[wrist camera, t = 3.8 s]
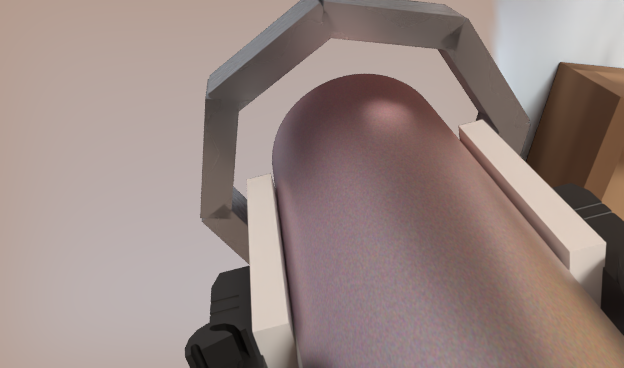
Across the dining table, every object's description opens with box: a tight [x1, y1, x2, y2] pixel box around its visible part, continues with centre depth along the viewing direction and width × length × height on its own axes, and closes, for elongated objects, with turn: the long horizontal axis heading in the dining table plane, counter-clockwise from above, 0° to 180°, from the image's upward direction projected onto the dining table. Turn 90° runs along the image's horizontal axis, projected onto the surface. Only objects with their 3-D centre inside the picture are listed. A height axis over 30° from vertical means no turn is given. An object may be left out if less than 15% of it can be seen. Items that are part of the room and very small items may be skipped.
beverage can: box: [272, 74, 624, 368], centre depth 14 cm, size 6×6×15 cm
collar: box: [200, 0, 530, 265], centre depth 19 cm, size 10×10×2 cm
